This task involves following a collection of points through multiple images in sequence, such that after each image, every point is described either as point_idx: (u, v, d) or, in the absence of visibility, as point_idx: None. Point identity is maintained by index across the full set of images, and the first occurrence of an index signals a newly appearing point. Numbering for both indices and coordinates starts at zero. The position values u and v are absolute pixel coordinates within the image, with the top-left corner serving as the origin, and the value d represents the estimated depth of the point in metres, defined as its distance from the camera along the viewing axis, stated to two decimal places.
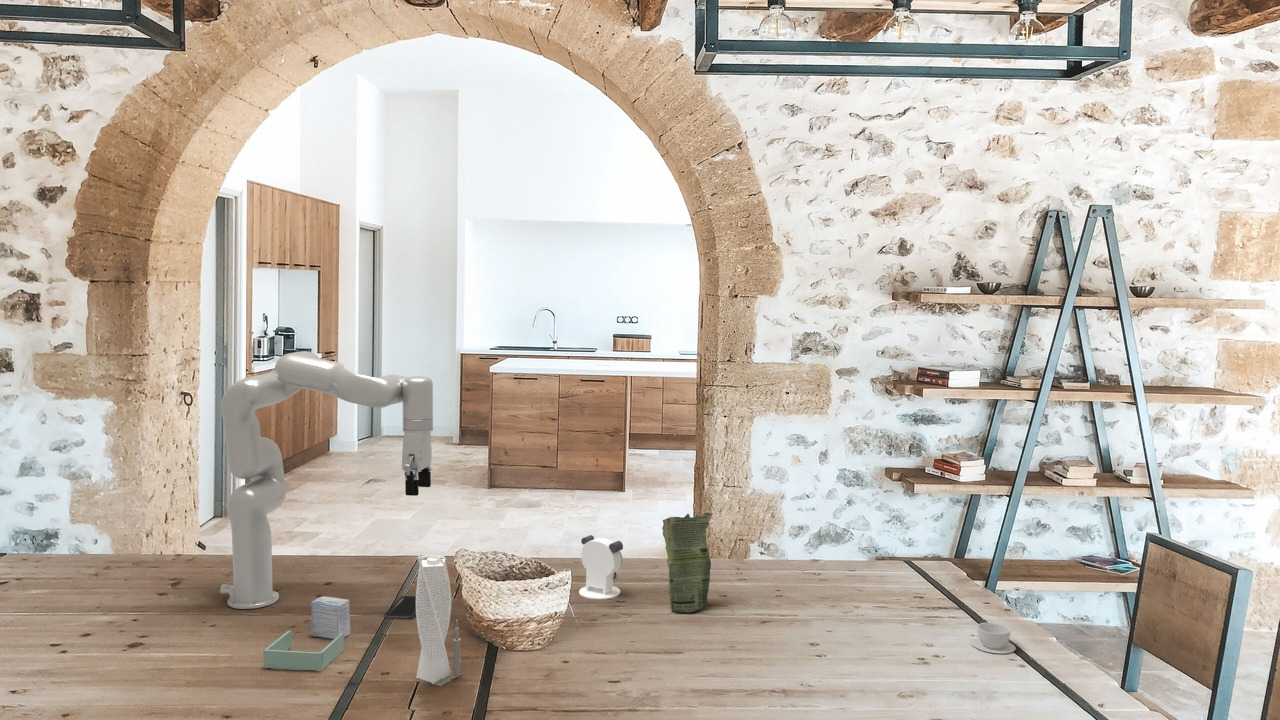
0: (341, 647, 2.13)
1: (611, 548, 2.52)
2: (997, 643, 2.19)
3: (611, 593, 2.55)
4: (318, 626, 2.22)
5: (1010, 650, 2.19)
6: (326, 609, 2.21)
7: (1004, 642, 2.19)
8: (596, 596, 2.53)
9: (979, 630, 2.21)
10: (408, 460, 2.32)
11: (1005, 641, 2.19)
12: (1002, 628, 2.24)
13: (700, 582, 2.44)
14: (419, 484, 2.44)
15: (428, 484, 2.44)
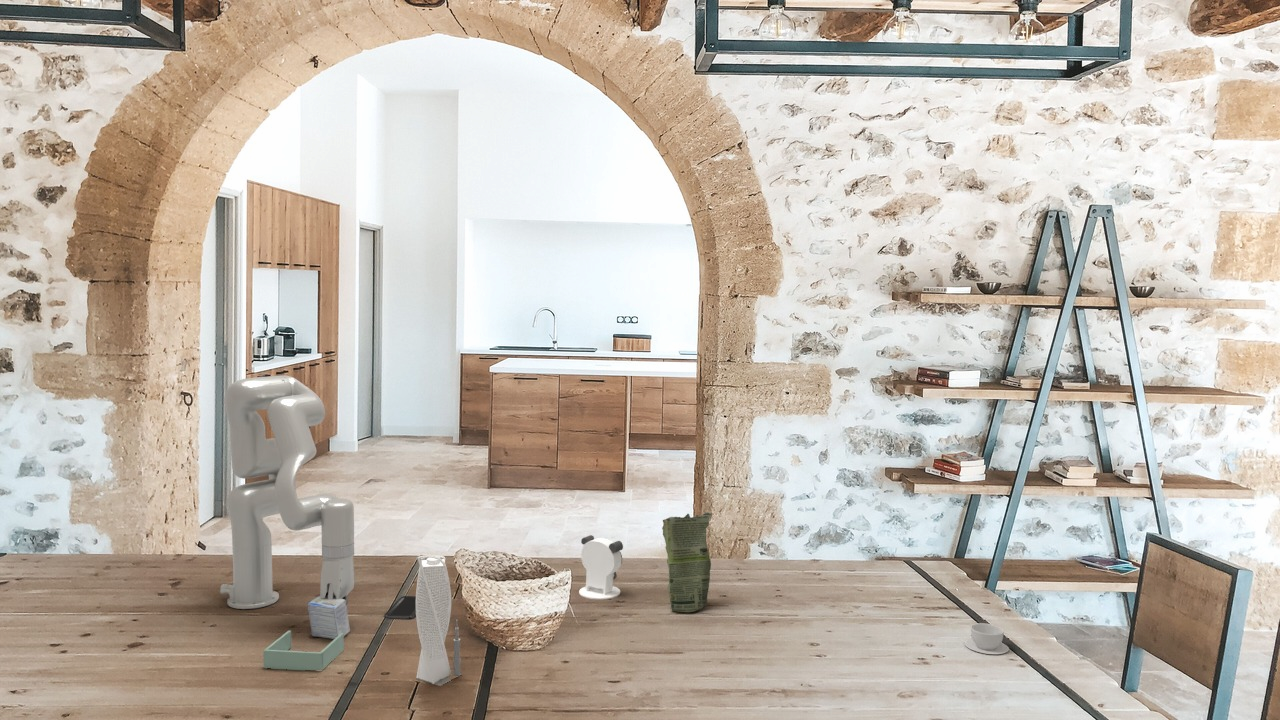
0: (341, 647, 2.13)
1: (611, 548, 2.52)
2: (990, 644, 2.18)
3: (611, 593, 2.55)
4: (316, 626, 2.22)
5: (1003, 651, 2.19)
6: (323, 611, 2.20)
7: (997, 643, 2.18)
8: (596, 596, 2.53)
9: (972, 631, 2.21)
10: (329, 597, 2.22)
11: (998, 642, 2.19)
12: (996, 629, 2.23)
13: (700, 582, 2.44)
14: None
15: None
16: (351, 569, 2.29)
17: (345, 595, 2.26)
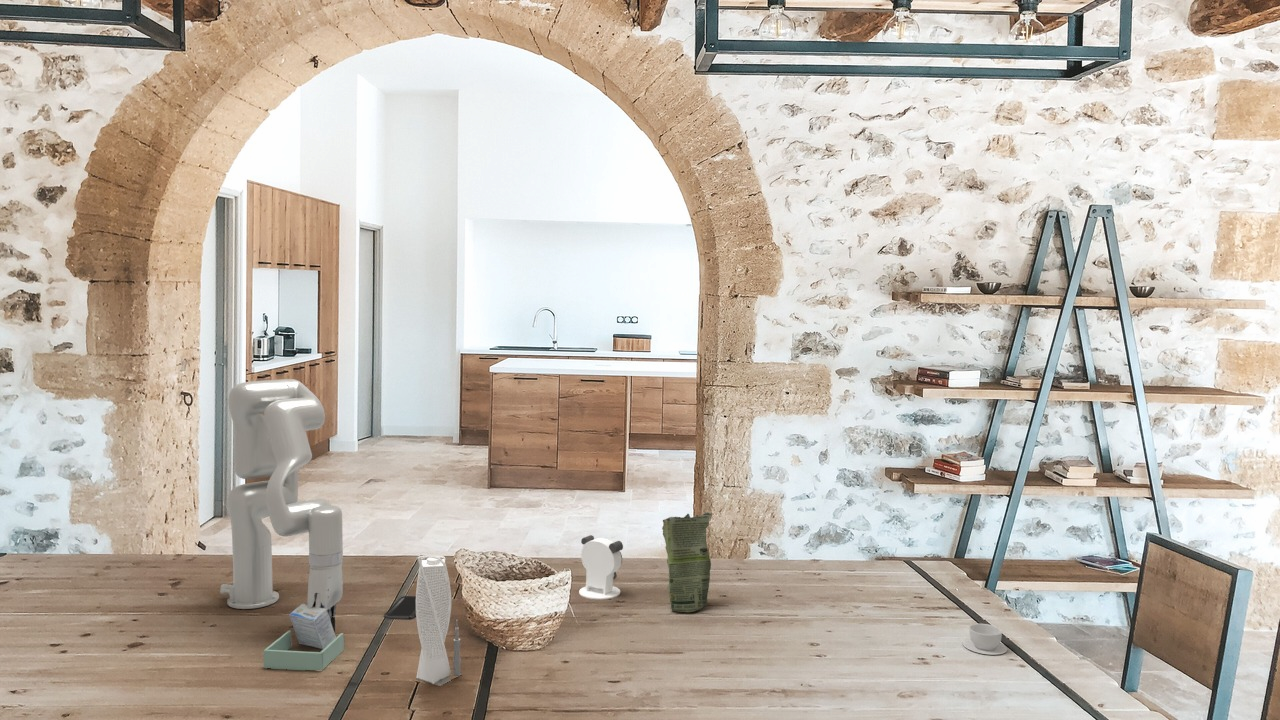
0: (341, 647, 2.13)
1: (611, 548, 2.52)
2: (989, 644, 2.18)
3: (611, 593, 2.55)
4: (301, 636, 2.16)
5: (1002, 651, 2.18)
6: (304, 622, 2.13)
7: (996, 643, 2.18)
8: (596, 596, 2.53)
9: (971, 631, 2.21)
10: None
11: (997, 642, 2.18)
12: (994, 629, 2.23)
13: (700, 582, 2.44)
14: None
15: None
16: (340, 578, 2.22)
17: (333, 605, 2.20)
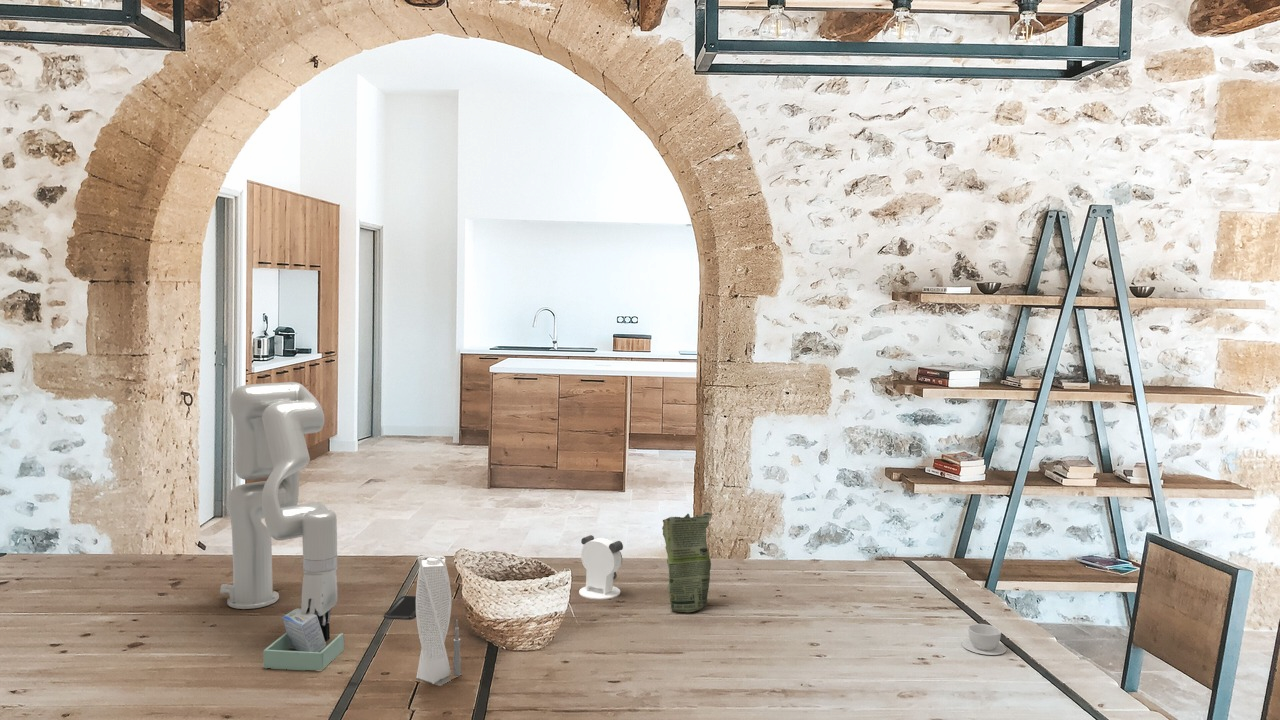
0: (341, 647, 2.13)
1: (611, 548, 2.52)
2: (988, 644, 2.18)
3: (611, 593, 2.55)
4: (293, 640, 2.13)
5: (1001, 651, 2.18)
6: (294, 626, 2.10)
7: (995, 643, 2.18)
8: (596, 596, 2.53)
9: (970, 631, 2.20)
10: None
11: (996, 642, 2.18)
12: (993, 629, 2.23)
13: (700, 582, 2.44)
14: None
15: None
16: (334, 583, 2.18)
17: (328, 610, 2.16)
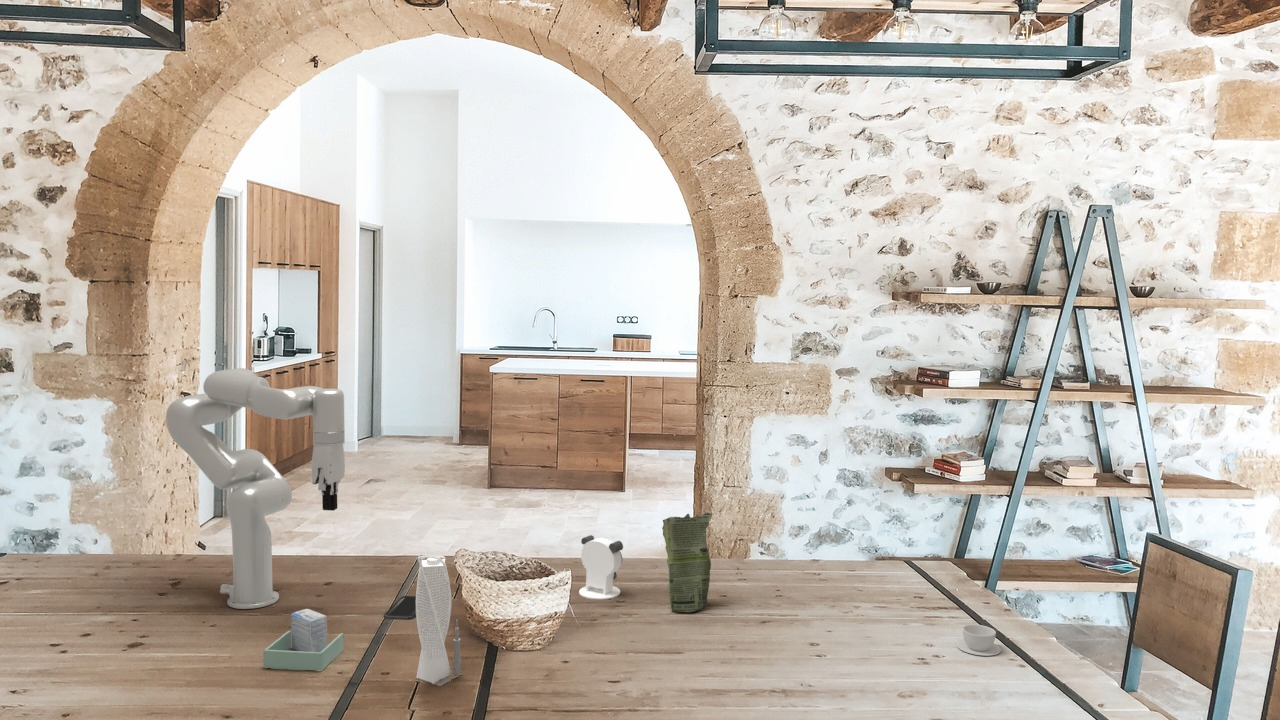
0: (341, 647, 2.13)
1: (611, 548, 2.52)
2: (983, 645, 2.17)
3: (611, 593, 2.55)
4: (295, 639, 2.14)
5: (996, 652, 2.18)
6: (301, 623, 2.12)
7: (990, 644, 2.18)
8: (596, 596, 2.53)
9: (964, 632, 2.20)
10: (320, 481, 2.30)
11: (991, 643, 2.18)
12: (987, 630, 2.22)
13: (700, 582, 2.44)
14: None
15: None
16: (341, 457, 2.37)
17: (335, 481, 2.34)
